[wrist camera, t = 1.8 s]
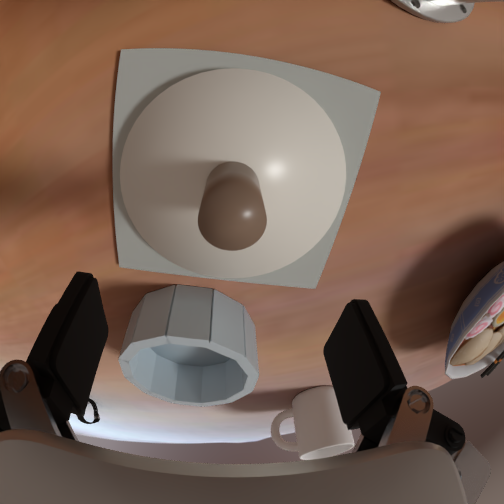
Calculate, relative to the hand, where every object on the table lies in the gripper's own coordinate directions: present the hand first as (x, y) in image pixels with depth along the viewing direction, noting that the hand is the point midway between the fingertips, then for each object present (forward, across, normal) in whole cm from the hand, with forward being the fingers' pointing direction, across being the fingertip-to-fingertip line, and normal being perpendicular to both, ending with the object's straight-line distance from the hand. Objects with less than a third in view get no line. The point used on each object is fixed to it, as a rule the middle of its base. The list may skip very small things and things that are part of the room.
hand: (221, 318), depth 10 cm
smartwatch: (+14, +22, +43) cm, 50 cm away
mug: (+13, -16, +32) cm, 38 cm away
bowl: (+13, +2, +16) cm, 21 cm away
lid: (+12, 0, -1) cm, 12 cm away
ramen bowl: (+12, -37, +7) cm, 40 cm away
